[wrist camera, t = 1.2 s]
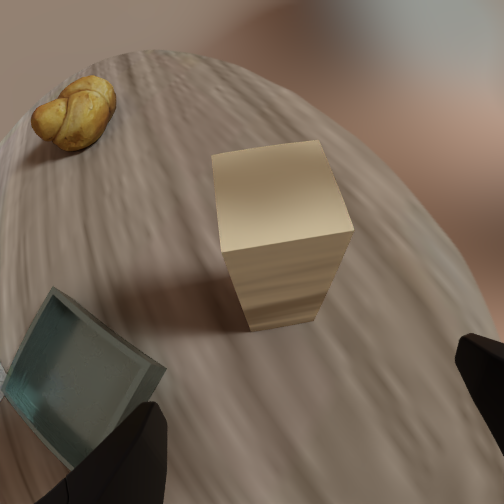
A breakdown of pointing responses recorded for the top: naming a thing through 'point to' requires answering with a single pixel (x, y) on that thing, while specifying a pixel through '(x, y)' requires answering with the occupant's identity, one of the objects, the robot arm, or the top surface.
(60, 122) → the bread roll
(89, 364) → the grey green tray
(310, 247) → the tall beech block
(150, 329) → the top surface
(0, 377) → the light bulb box
